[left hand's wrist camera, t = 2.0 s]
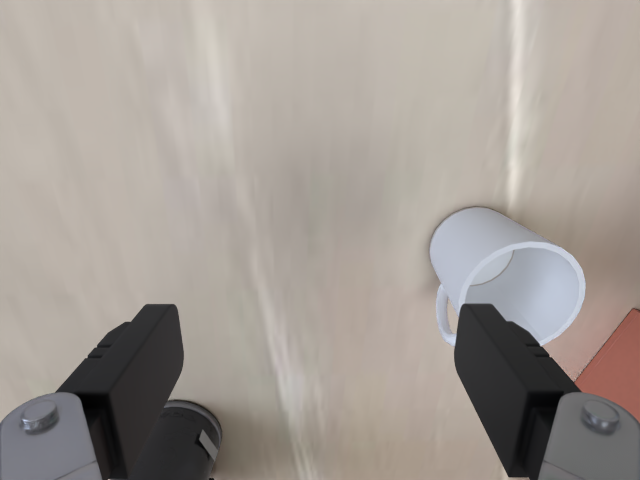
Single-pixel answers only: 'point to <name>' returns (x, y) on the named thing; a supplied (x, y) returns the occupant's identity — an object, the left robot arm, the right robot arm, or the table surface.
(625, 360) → the cabinet
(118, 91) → the table surface
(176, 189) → the table surface
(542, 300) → the mug
